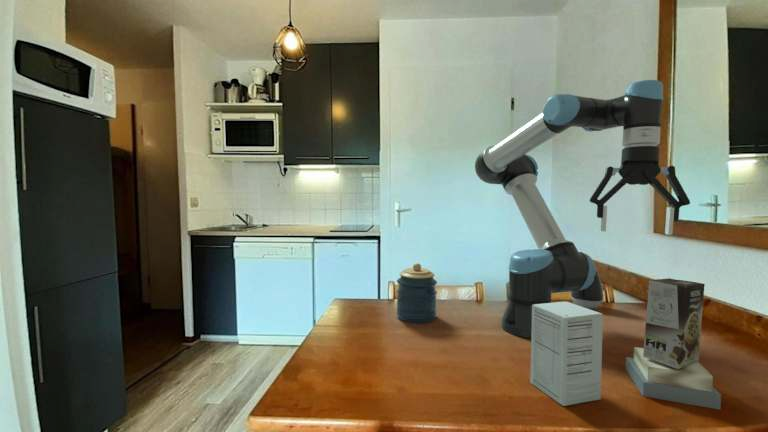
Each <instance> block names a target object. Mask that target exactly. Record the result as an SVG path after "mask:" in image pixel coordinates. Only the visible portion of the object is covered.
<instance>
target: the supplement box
mask: <svg viewBox="0 0 768 432" xmlns="http://www.w3.org/2000/svg"><path fill="white" fill-rule="evenodd" d="M603 323H604V314H603V313H601V312H599V311H596V310H593V309H587V308H584V307H581V306H578V305H576V304H575V303H573V302H572V303H571V302H569V301H556V302H551V303H543V304H533V305H532V333H531V338H530V340H531V341H530V342H531V345H530V346H531V347H530V376H529V377H530V378H529V379H530V380H529V381H530V384H531V385H533V386H534V387H536V388H537V389H538V390H540V391H541V392H542V393H544V394H546V395H547V396H549V397H550V398H551V399H553V400H554V401H556V402H557V403H558V404H559V405H560V406H562V407H567V406H572V405H577V404H583V403H587V402H588V403H589V402H592V401H593V402H594V401H600V400H601V399H602V370H603V369H602V366H603V365H602V363H603V361H602V360H603V358H602V357H603V332H604V331H603V325H604V324H603Z"/></svg>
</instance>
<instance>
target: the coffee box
mask: <svg viewBox="0 0 768 432" xmlns="http://www.w3.org/2000/svg"><path fill="white" fill-rule="evenodd" d="M648 281H649V283H648V284H649V285H648V293H647V295H648V296H647V304H646V305H647V306H646V315H645V328H644V329H645V330H644V340H643V341H644V342H643V348H644V351H643V356H644V357H646V358H649V359H651V360H654V361H657V362H660V363H663V364H665V365H668V366H671V367H673V368H676V369H680V368H682V367H685V366H688V365H690V364H693V363H696V362H698V363H699V358H700V348H701V347H700V346H701V332H702V319H703V306H704V295H705V285H706V284H705V283H701V282H695V281H691V280H690V281H689V280H682V279H674V278H662V279H661V278H658V279H657V278H656V279H649V280H648Z"/></svg>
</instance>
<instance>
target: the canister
mask: <svg viewBox="0 0 768 432" xmlns="http://www.w3.org/2000/svg"><path fill="white" fill-rule="evenodd" d="M399 276H400V277H399V278H398V279H397V280H396V283H397V284H398V288H397V290H396V293H397V294H396V295H397V296H396V317H397V318H398V319H399V320H400V321H404V322H406V323H407V322H408V323H417V324H423V323H429V322H432V321H434V320H436V318H437V317H436V316H437V293H438V292H437V290H436V285H437V284H438V282H437V280H436V279H434V277H435V273H434V272H432V271H431V270H430V269H428V268H423V267H422V265H421V264H420V263H419V262H418V263H417V262H416V263H414V264H413V266H412V267H410V268H405V269H403V271H401V272H399Z"/></svg>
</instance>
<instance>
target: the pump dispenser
mask: <svg viewBox="0 0 768 432" xmlns="http://www.w3.org/2000/svg"><path fill="white" fill-rule="evenodd" d="M570 297H571V298H572V302H573V304H575V305H578V306H581V307H584V308H587V309H590V310H593V309H597V308H599V307H600V306H601V304H602V302H603V300H604V291H603V284H602V281H601V278H600V276H599V273H598V272H597V270H596V269H595V276H594V281H593V282H592V284H591V285H590V286H589V287H588V288H586V289H583V290H578V291H576V292H570Z"/></svg>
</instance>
